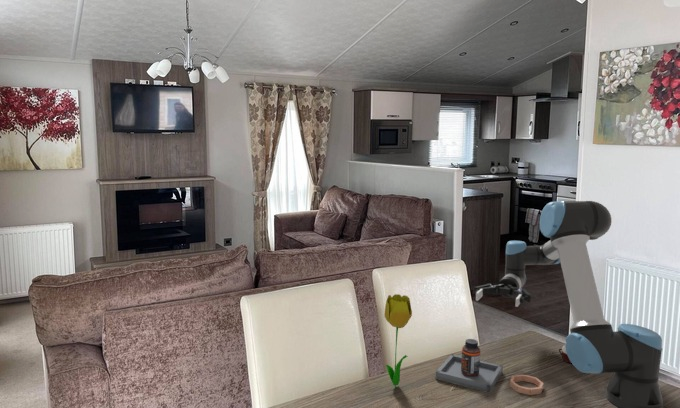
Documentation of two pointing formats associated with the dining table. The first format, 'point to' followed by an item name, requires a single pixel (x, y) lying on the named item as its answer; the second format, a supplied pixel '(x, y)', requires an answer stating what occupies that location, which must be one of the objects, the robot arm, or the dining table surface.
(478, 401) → the dining table surface
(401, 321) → the flower
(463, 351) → the supplement bottle
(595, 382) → the dining table surface
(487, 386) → the tray
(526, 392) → the holder ring
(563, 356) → the cocoa
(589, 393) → the dining table surface
